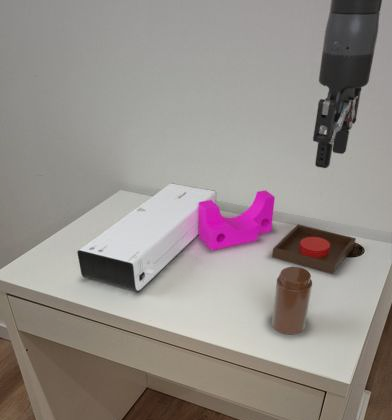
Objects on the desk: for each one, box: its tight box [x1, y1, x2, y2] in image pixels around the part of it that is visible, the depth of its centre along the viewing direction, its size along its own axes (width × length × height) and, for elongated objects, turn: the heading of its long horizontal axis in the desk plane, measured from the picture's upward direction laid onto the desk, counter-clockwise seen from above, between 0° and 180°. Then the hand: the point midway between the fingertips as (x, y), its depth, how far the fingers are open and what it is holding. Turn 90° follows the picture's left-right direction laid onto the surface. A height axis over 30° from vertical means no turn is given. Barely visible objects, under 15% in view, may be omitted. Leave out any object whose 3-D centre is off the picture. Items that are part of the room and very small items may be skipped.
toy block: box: [198, 189, 276, 251], centre depth 97 cm, size 15×6×8 cm, turn 113°
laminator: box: [76, 182, 217, 293], centre depth 94 cm, size 34×12×6 cm, turn 154°
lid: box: [299, 237, 330, 258], centre depth 93 cm, size 6×6×2 cm
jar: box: [271, 266, 313, 335], centre depth 73 cm, size 5×5×9 cm
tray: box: [271, 223, 357, 275], centre depth 93 cm, size 12×12×2 cm
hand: (330, 159), depth 82 cm, fingers open, 8 cm apart
